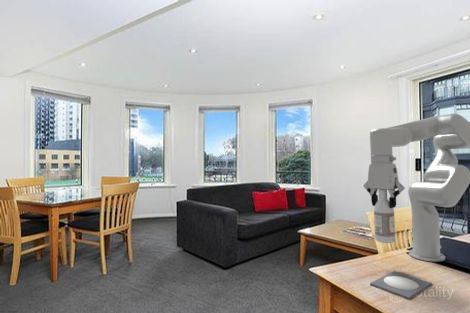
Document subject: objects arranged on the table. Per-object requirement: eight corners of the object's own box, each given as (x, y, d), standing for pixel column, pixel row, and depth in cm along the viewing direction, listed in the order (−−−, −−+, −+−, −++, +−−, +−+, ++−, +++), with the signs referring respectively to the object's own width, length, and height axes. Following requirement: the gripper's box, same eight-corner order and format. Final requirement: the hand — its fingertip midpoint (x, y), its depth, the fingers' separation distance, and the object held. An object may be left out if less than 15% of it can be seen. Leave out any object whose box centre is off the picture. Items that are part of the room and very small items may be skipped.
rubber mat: (394, 272, 101) (394, 270, 101) (431, 284, 91) (431, 282, 92) (370, 284, 92) (370, 282, 92) (408, 299, 83) (408, 297, 83)
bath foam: (389, 244, 103) (387, 191, 103) (371, 240, 109) (369, 189, 109) (399, 241, 107) (396, 189, 107) (381, 237, 112) (378, 188, 113)
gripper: (410, 159, 103) (412, 207, 103) (365, 160, 117) (367, 202, 117) (400, 160, 98) (402, 210, 98) (355, 160, 113) (357, 205, 113)
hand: (383, 205), depth 108 cm, fingers closed on bath foam, 6 cm apart
